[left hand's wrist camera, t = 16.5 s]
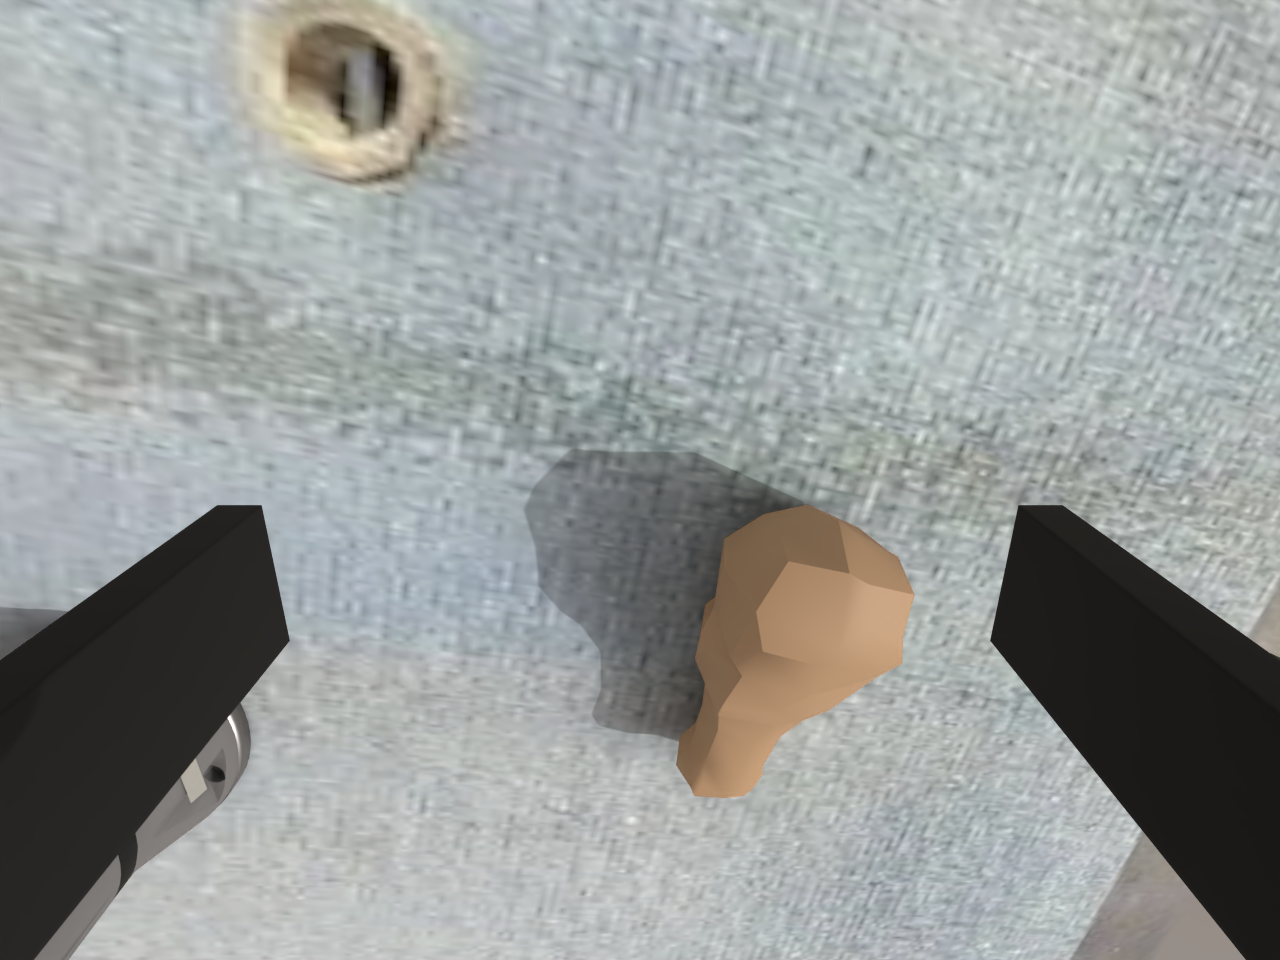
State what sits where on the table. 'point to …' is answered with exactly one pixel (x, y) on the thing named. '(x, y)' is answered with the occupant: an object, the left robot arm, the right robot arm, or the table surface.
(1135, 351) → the table surface
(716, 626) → the squash
